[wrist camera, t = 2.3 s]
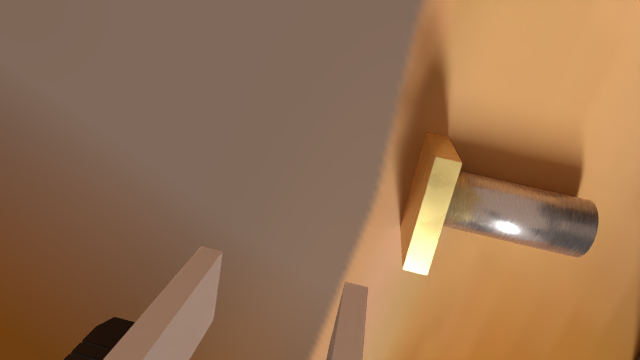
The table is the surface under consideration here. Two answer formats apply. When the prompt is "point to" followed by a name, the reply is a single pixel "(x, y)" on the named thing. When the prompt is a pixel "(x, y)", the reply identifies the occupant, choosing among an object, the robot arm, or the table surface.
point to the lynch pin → (486, 210)
